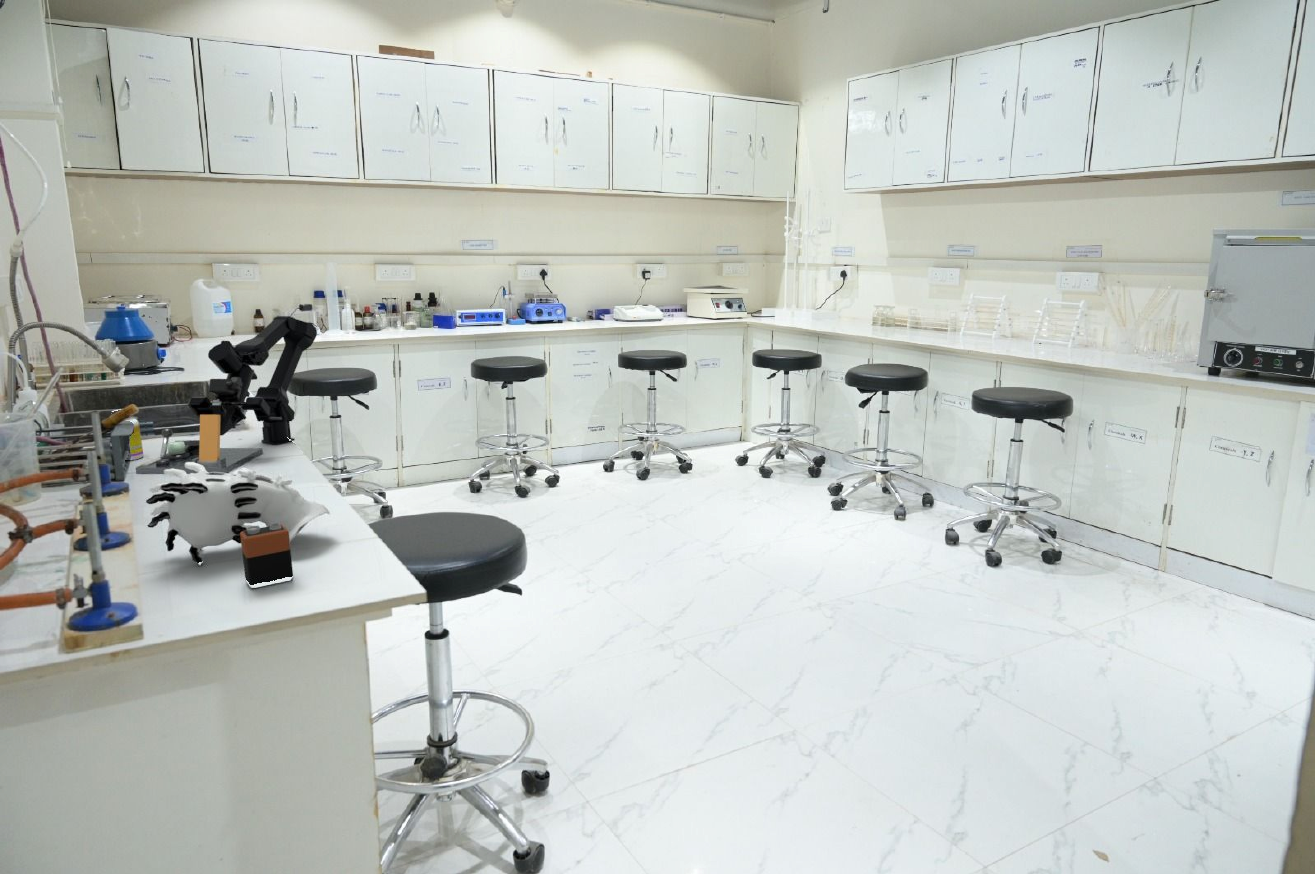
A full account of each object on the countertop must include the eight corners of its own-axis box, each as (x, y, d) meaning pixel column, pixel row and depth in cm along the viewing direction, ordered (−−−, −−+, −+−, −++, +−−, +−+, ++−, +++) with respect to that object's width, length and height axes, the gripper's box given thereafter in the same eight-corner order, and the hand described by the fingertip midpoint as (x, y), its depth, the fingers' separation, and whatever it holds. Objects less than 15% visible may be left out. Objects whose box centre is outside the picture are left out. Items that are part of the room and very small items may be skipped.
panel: (182, 452, 225) (180, 439, 225) (263, 453, 225) (262, 440, 225) (134, 474, 205) (132, 459, 204) (224, 474, 205) (222, 460, 204)
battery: (245, 582, 141) (238, 526, 139) (287, 572, 145) (282, 518, 143) (250, 590, 138) (244, 533, 135) (294, 581, 142) (288, 525, 139)
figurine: (332, 568, 155) (142, 576, 141) (322, 540, 169) (149, 544, 155) (337, 480, 152) (144, 479, 138) (327, 459, 166) (151, 457, 152)
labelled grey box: (189, 444, 224) (189, 439, 224) (204, 444, 224) (204, 439, 224) (174, 445, 217) (174, 440, 217) (190, 445, 217) (190, 440, 217)
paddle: (200, 466, 206) (201, 414, 207) (221, 466, 206) (222, 414, 207) (196, 466, 205) (197, 414, 205) (218, 466, 205) (219, 414, 205)
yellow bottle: (149, 455, 223) (143, 408, 220) (132, 462, 216) (125, 413, 213) (126, 454, 223) (119, 407, 220) (108, 461, 217) (100, 412, 214)
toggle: (160, 459, 209) (165, 429, 212) (170, 459, 209) (175, 429, 212) (154, 457, 207) (160, 427, 209) (164, 457, 207) (170, 427, 209)
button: (173, 450, 216) (172, 441, 215) (188, 450, 216) (187, 441, 215) (165, 454, 212) (164, 444, 212) (180, 454, 212) (179, 444, 212)
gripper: (187, 365, 212) (167, 416, 204) (260, 365, 212) (244, 417, 204) (207, 390, 222) (189, 440, 213) (277, 391, 222) (262, 441, 213)
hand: (220, 434), depth 211 cm, fingers closed
